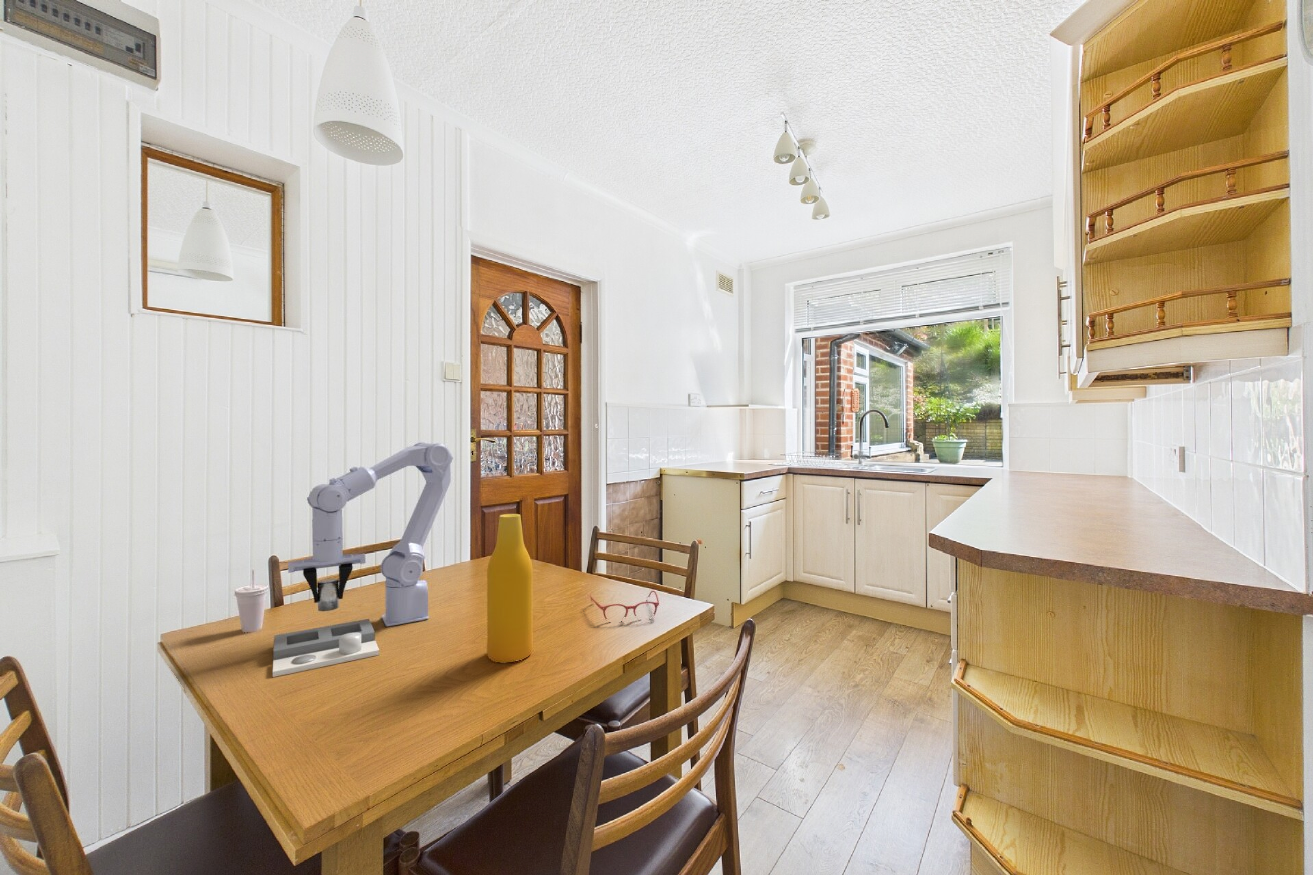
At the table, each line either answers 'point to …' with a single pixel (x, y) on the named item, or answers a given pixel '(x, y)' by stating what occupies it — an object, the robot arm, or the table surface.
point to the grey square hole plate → (319, 638)
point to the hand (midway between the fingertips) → (328, 599)
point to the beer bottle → (509, 594)
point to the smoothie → (251, 605)
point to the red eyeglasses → (627, 606)
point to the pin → (328, 595)
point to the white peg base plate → (328, 655)
